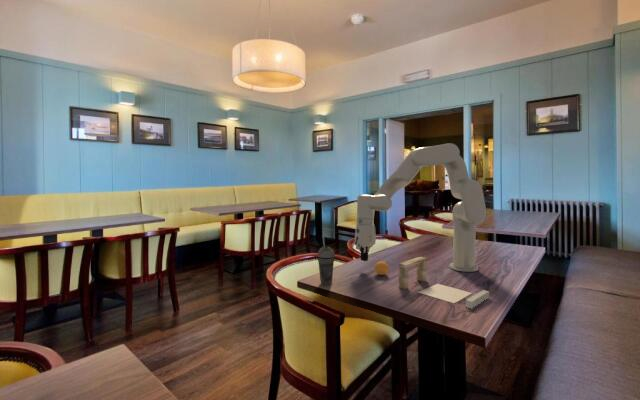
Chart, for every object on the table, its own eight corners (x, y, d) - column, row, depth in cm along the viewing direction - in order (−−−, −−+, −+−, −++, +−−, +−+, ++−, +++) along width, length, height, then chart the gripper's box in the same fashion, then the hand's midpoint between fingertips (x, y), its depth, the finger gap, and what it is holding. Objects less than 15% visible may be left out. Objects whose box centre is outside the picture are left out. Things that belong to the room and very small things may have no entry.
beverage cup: (333, 287, 131) (333, 238, 129) (315, 286, 132) (315, 237, 130) (336, 281, 138) (336, 234, 136) (319, 280, 139) (318, 234, 138)
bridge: (398, 287, 130) (399, 263, 129) (419, 278, 140) (420, 256, 139) (405, 289, 128) (405, 264, 127) (426, 280, 138) (426, 257, 137)
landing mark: (437, 284, 133) (437, 283, 133) (472, 293, 123) (472, 293, 123) (418, 292, 124) (418, 292, 124) (454, 303, 114) (454, 303, 114)
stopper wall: (483, 296, 120) (483, 289, 120) (488, 298, 118) (489, 291, 118) (465, 307, 111) (465, 300, 111) (471, 309, 109) (471, 301, 109)
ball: (380, 271, 150) (380, 259, 150) (391, 274, 146) (391, 261, 145) (371, 274, 146) (372, 261, 146) (382, 277, 142) (382, 264, 141)
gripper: (360, 224, 143) (359, 265, 145) (381, 220, 153) (380, 259, 155) (347, 221, 149) (347, 261, 151) (369, 219, 159) (368, 256, 161)
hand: (364, 260), depth 153 cm, fingers closed
